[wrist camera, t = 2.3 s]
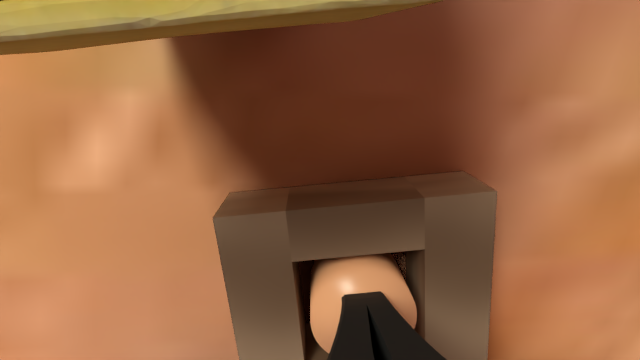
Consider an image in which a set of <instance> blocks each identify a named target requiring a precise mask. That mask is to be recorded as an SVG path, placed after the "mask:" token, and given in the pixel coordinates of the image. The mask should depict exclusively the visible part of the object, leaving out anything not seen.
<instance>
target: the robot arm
mask: <svg viewBox="0 0 640 360" xmlns="http://www.w3.org/2000/svg"><path fill="white" fill-rule="evenodd" d="M341 299H342V307H341V314H340V320H339V324H338V328H337V331H336V335H335V338H334V341H333V344H332V347H331V350H330V353H329V356H328V358H327V360H447V359H446V358H444V357H443V356H442V355H441V354H440V353H439V352H437V351H436V350H435V349H434V348H433V347H432V346H431V345H430V344H429V343H428V342H426V341H425V340H424V339H423V338H422V337H421V336H420V335H419V334H418V333H417V332H416V331H415V330H414V329H413V328H412V327H411V325H410V324H409V323H408V322H407V321H406V320H405V319H404V318H403V317H402V316H401V315H400V313H399V312H398V311H397V310H396V309H395V308H394V306H393V305H392V304H391V303H390V302H389V300H388V299H387V298H386V296H385V295H384V294H383V293H382V292H381V291H377V292H367V293H357V294H346V295H344V296H343V297H342V298H341Z"/></svg>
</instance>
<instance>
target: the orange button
mask: <svg viewBox="0 0 640 360" xmlns="http://www.w3.org/2000/svg"><path fill="white" fill-rule="evenodd" d="M377 291H381V292H382V293H383V294H384V295H385V296H386V298H387V299H388V300H389V302H390V303H391V304H392V305H393V306H394V308H395V309H396V310H397V311H398V312H399V313H400V315H401V316H402V317H403V318H404V319H405V320H406V321H407V322H408V323H409V324H410V325H411V327H412V328H413V329H414V328H415V325H416V321H417V309H416V305H415V302H414V299H413V297H412V295H411V293H410V291H409V288H408V286H407V284H406V282H405V280H404V278H403V276H402V274H401V271H400V269H399V267H398V265H397V263H396V261H395V259H394V257H393V256H392V254H391V253H381V254H370V255H360V256H349V257H338V258H328V259H317V260H315V262H314V264H313V266H312V269H311V274H310V323H311V329H312V333H313V335H314V337H315V339H316V341H317V342H318V344H319V345H320V346H321V347H322V348H323V349H324V350H325V351H326V352H327V353H330V350H331V347H332V344H333V341H334V338H335V335H336V331H337V328H338V324H339V320H340V314H341V307H342V299H341V298H342V297H343V296H344V295H346V294H357V293H367V292H377Z"/></svg>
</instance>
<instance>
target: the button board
mask: <svg viewBox="0 0 640 360" xmlns="http://www.w3.org/2000/svg"><path fill="white" fill-rule="evenodd" d="M496 202H497V191H496V190H494V189H493V188H491V187H489V186H488V185H486V184H484V183H483V182H481V181H479V180H478V179H476V178H475V177H473V176H471V175H470V174H468V173H466V172H465V171H457V172H446V173H436V174H425V175H414V176H403V177H393V178H382V179H371V180H361V181H350V182H339V183H329V184H318V185H307V186H296V187H286V188H275V189H264V190H254V191H243V192H232V193H229V195H228V196H227V198H226V199H225V200H224V202H223V203H222V205H221V206H220V208H219V209H218V211H217V212H216V214H215V215H214V217H213V223H214V228H215V233H216V238H217V244H218V249H219V254H220V260H221V265H222V270H223V276H224V281H225V286H226V291H227V297H228V302H229V307H230V313H231V318H232V323H233V329H234V334H235V339H236V344H237V350H238V355H239V360H327V358H328V356H329V353H327V352H326V351H325V350H324V349H323V348H322V347H321V346H320V345H319V344H318V342H317V341H316V339H315V337H314V335H313V333H312V329H311V323H306V321H305V312H304V304H303V295H302V287H301V278H300V270H299V262H298V261H307V260H317V259H328V258H338V257H349V256H360V255H370V254H381V253H391V252H402V251H406V284H407V286H408V288H409V291H410V293H411V295H412V297H413V299H414V302H415V305H416V309H417V321H416V325H415V328H414V330H415V331H416V332H417V333H418V334H419V335H420V336H421V337H422V338H423V339H424V340H425V341H426V342H428V343H429V344H430V345H431V346H432V347H433V348H434V349H435V350H436V351H437V352H439V353H440V354H441V355H442V356H443V357H444V358H446V359H447V360H487V357H488V340H489V323H490V306H491V288H492V271H493V254H494V237H495V220H496Z"/></svg>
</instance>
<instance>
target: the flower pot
mask: <svg viewBox="0 0 640 360" xmlns="http://www.w3.org/2000/svg"><path fill="white" fill-rule="evenodd" d="M440 1H443V0H0V55H6V54H22V53H38V52H50V51H60V50H69V49H77V48H85V47H93V46H101V45H110V44H118V43H126V42H135V41H143V40H151V39H160V38H168V37H177V36H187V35H198V34H208V33H219V32H230V31H241V30H252V29H263V28H274V27H286V26H298V25H309V24H321V23H335V22H347V21H354V20H361V19H366V18H370V17H374V16H378V15H383V14H387V13H391V12H396V11H400V10H404V9H409V8H413V7H418V6H422V5H427V4H431V3H436V2H440Z"/></svg>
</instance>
